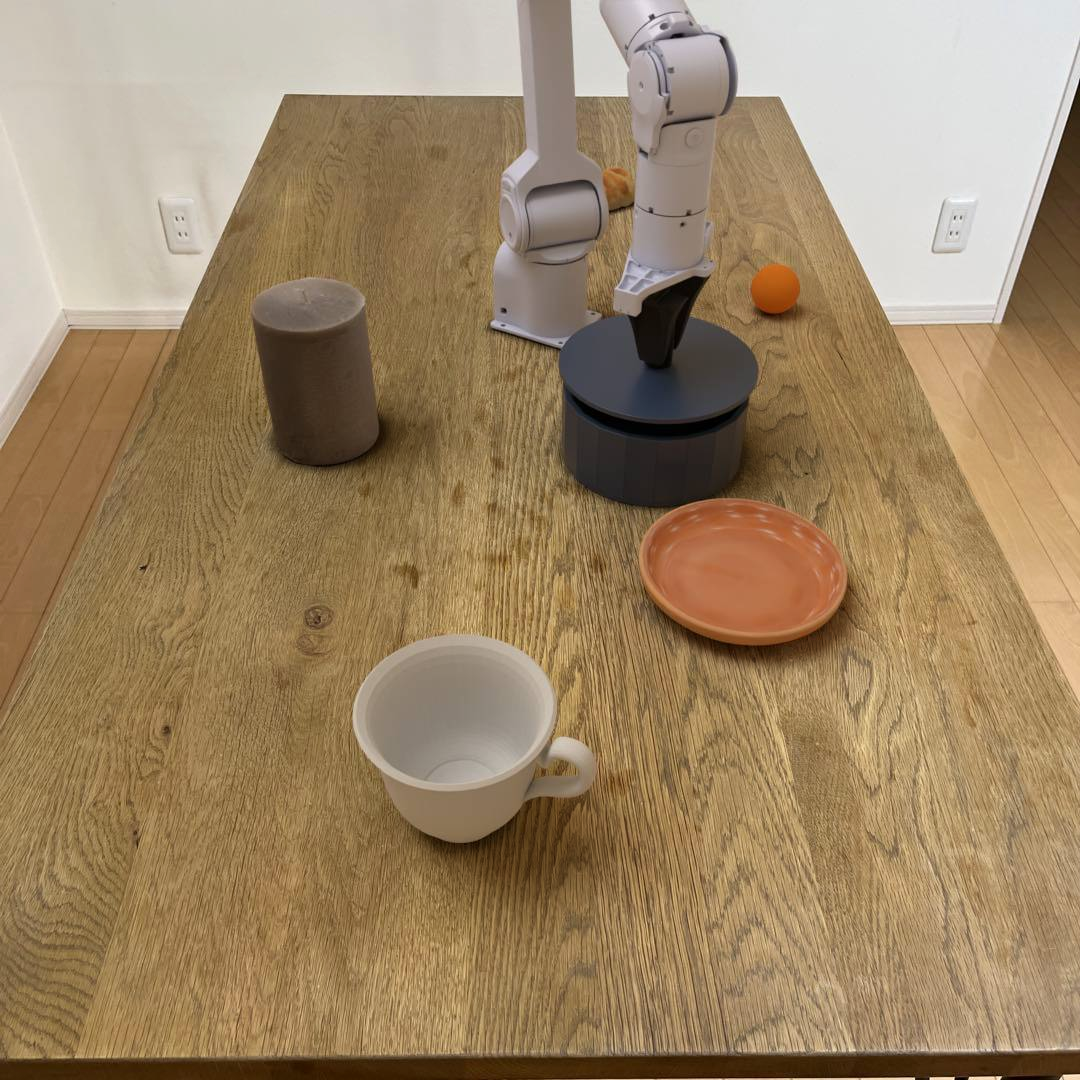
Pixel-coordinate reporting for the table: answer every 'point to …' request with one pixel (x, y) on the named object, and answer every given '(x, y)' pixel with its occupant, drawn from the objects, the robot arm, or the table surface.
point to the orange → (775, 288)
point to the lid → (658, 372)
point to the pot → (651, 454)
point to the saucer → (742, 571)
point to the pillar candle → (316, 369)
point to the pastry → (618, 187)
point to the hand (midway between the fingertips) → (658, 353)
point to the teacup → (464, 734)
